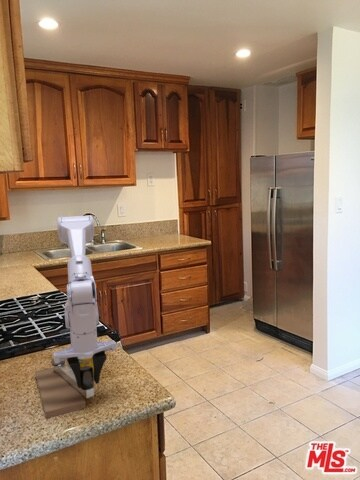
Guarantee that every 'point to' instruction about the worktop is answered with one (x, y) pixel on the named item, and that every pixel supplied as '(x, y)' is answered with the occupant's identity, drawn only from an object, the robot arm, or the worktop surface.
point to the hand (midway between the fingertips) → (87, 383)
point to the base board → (57, 393)
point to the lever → (69, 376)
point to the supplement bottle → (86, 362)
